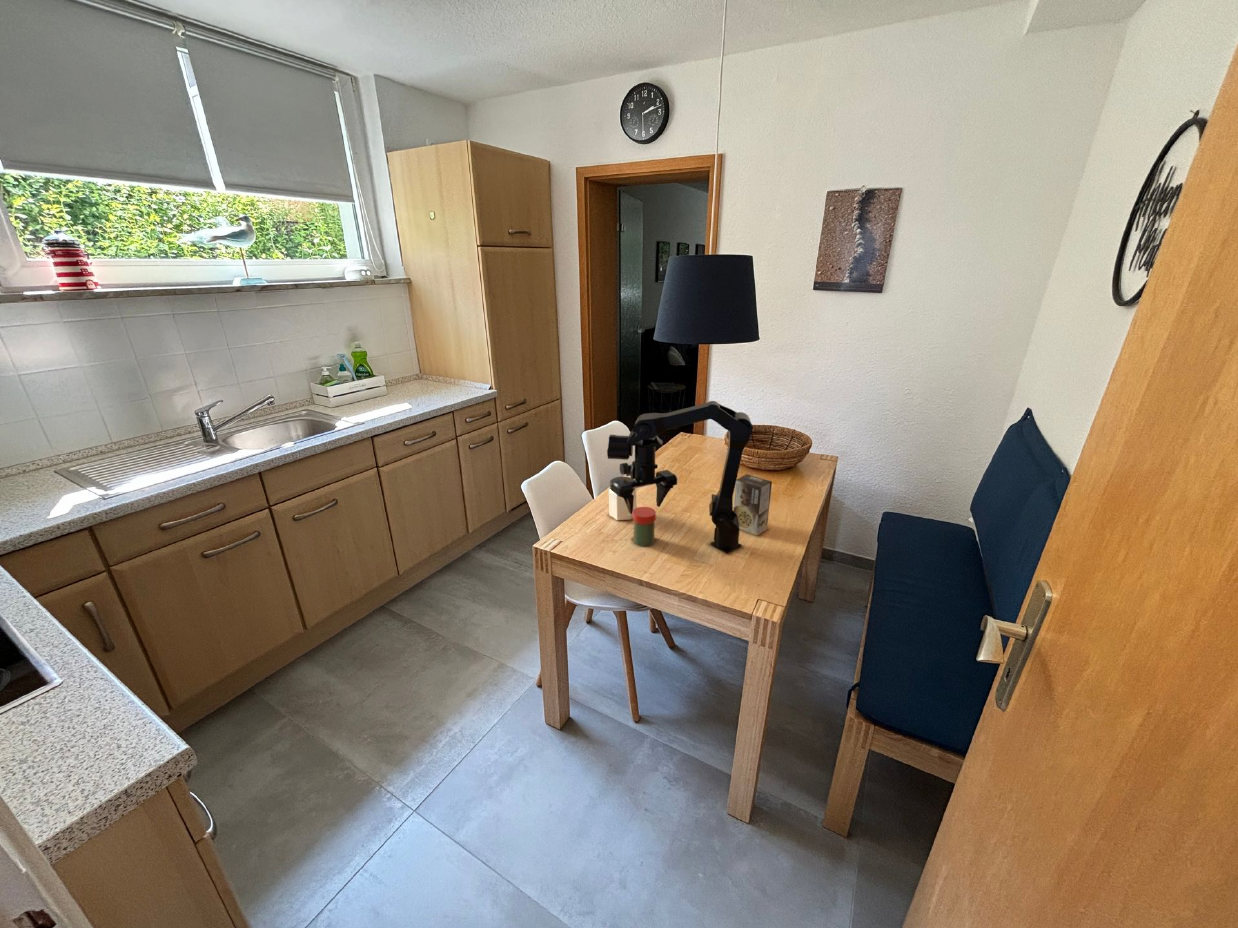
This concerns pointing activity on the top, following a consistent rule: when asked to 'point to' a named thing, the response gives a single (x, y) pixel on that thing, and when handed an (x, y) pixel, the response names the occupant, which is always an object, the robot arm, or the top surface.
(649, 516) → the lid
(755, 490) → the coffee box
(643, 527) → the green jar
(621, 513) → the jar
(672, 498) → the top surface
